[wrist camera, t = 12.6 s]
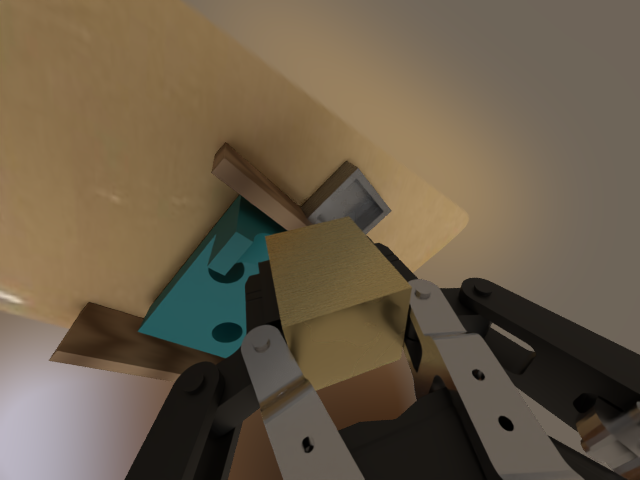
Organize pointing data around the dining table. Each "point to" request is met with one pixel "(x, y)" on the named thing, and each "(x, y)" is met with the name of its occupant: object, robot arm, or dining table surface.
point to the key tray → (346, 200)
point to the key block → (337, 300)
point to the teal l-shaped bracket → (214, 284)
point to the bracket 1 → (122, 329)
